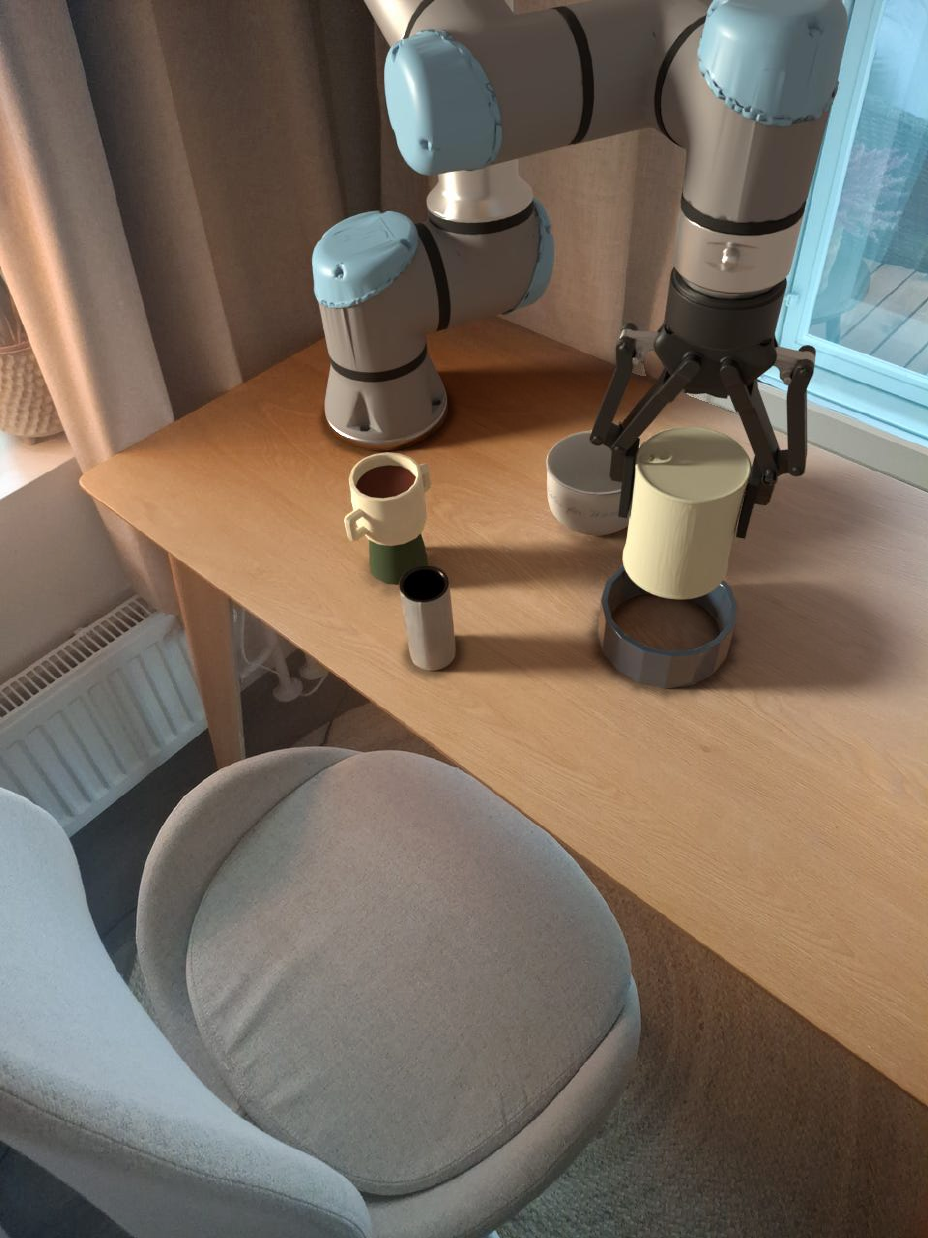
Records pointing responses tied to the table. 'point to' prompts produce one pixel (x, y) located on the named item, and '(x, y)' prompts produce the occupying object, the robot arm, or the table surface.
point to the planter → (428, 617)
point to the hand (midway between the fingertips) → (682, 516)
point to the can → (684, 511)
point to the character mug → (389, 512)
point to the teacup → (583, 486)
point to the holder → (659, 663)
